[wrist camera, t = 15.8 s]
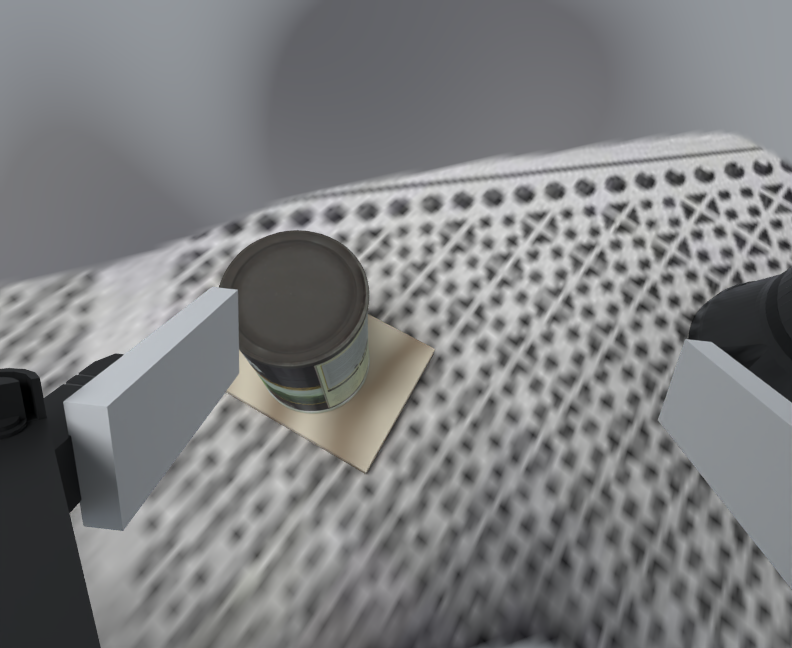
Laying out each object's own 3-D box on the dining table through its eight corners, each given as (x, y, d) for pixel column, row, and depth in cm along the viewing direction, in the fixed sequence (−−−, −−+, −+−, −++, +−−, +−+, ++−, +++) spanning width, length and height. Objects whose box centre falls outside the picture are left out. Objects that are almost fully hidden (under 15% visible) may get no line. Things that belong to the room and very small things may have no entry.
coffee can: (274, 429, 45) (232, 385, 32) (250, 327, 49) (204, 249, 36) (385, 395, 47) (388, 339, 34) (353, 298, 50) (345, 214, 37)
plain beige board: (433, 354, 50) (434, 349, 48) (366, 474, 45) (365, 472, 44) (279, 273, 53) (277, 266, 51) (201, 377, 48) (196, 373, 47)
